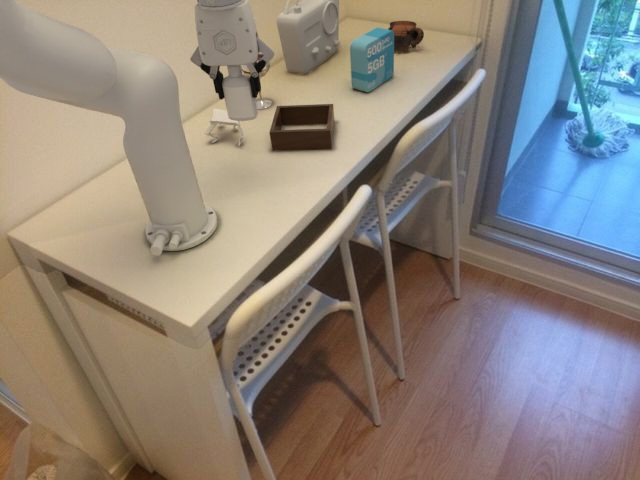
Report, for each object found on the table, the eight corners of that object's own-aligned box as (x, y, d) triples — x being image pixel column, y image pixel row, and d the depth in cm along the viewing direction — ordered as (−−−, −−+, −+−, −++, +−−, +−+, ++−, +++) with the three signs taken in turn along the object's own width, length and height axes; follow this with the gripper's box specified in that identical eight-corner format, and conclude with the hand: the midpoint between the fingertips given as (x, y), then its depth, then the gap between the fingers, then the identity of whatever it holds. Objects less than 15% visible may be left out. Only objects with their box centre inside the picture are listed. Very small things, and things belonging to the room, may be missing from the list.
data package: (366, 94, 129) (364, 45, 121) (351, 90, 131) (349, 41, 123) (394, 76, 135) (394, 28, 127) (379, 72, 138) (379, 25, 130)
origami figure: (196, 140, 118) (191, 120, 115) (222, 123, 123) (218, 104, 120) (237, 153, 113) (232, 133, 109) (262, 135, 117) (258, 115, 114)
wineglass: (278, 107, 127) (271, 58, 119) (250, 113, 126) (242, 64, 118) (272, 95, 132) (265, 47, 124) (245, 101, 131) (236, 53, 123)
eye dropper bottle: (247, 125, 100) (235, 63, 92) (225, 118, 103) (212, 58, 95) (261, 115, 103) (251, 54, 95) (240, 109, 105) (228, 49, 98)
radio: (308, 80, 137) (297, -24, 121) (281, 75, 141) (268, -27, 125) (347, 48, 151) (343, -49, 135) (322, 45, 155) (315, -50, 138)
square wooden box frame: (331, 149, 111) (330, 130, 108) (272, 151, 112) (269, 132, 109) (334, 122, 120) (333, 103, 117) (279, 124, 121) (276, 105, 118)
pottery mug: (378, 52, 148) (380, 21, 147) (397, 57, 155) (400, 27, 154) (414, 49, 140) (416, 16, 139) (433, 54, 147) (436, 23, 146)
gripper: (163, 4, 86) (190, 106, 98) (267, -2, 84) (282, 103, 96) (176, -10, 92) (200, 88, 104) (274, -16, 90) (287, 84, 102)
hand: (239, 94), depth 100 cm, fingers closed on eye dropper bottle, 5 cm apart
